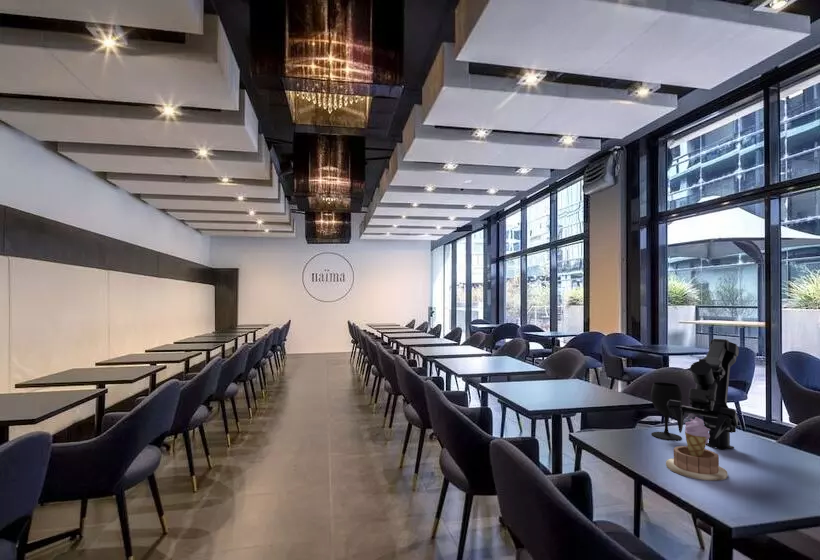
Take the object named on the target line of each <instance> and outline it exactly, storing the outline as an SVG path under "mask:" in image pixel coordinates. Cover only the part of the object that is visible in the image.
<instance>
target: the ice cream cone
mask: <svg viewBox="0 0 820 560" xmlns="http://www.w3.org/2000/svg"><path fill="white" fill-rule="evenodd" d="M684 422H685V428H684V435H685V440H686V445H687V446H688V450H689V454H690V456H695V457H702V455H703V452H704V449H706V448H705V447H706V446H707V445H706V444H707V443H709V438H710V434H709V430H710V429H709V428H706V427H705V425H704V420H703V418H699V417H698V416H695V417H694V419H693V418H690V421H684Z"/></svg>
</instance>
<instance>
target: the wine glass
mask: <svg viewBox="0 0 820 560" xmlns="http://www.w3.org/2000/svg"><path fill="white" fill-rule="evenodd" d="M681 390H682V389H681V387H680V385H679V384H677V383H671V382H665V381H664V382H662V381H661V382H660V381H659V382H658V381H656V382H653V383H652V386H651V391H650V399H651V402H652V405H653V407H654V408H655V409H656V410H657V411H658V412H659V413H661V414H662V415H663V416H664V417H663V418H664V431H652V432H651V433H650V434H651V436H652V437H653V438H656V439H659V440H663V441H669V440H676V441H675V442H679V441H682V439H683V437H682V436H681V435H678V434H677V433H673V432H669V426H668V425H669V417H670V416H671V415H670V413H669V411H668V408H667V402H668V401H669V400H676V401H683V397H682V396H683V395H682V391H681ZM678 440H679V441H678Z"/></svg>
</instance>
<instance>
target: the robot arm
mask: <svg viewBox="0 0 820 560" xmlns="http://www.w3.org/2000/svg"><path fill="white" fill-rule="evenodd" d="M739 353H740V350H739V345H738V344H736V343H735V342H731V341H729V340H728V339H725V338H723V339H721V338H711V340H710V342H709V349H708V352H707V355H706V356H705V357H704V358H699V359H698V361H695V362H694V363H692V364H691V365H690V368H689V369H690V372H691V375H692V379H693V381H694V383H695V388H689V393H688V399H689V405H691V406H687V405H684V404H683V402H682V401H683V400H682V401H676V400H669V401H668V402H667V408H668V411H669V413H670V415H669V416H672V417H673V419H676V421H677V426H678V427H677V428H678V431H679V433H680V434H681V433H682V431H683V428H684V427H683V426H684V422H685V421H684V420H685V418H684V415H685V413H686V414H693V415H699V416H702V420H703V421H704V425H705V427H706V428H709V429H710V430H709V431H708V433H709V434H710V438H709V439H708V443H707V444H706V445H705V446H708V447H712V448H716V449H717V450H718V449H719V450H722V451H725V450H730V449H731V450H732V449H735V446H733V445H731V443H730V442H731V441H730V440H731V437H730V436H731V435H730V433H731V434H733V433H736V431H737V430H736V429H737V427H738V426H739V425H738V424H739V418H738V414H737V410H736V409H734V408H729V406H728V405H727V404H728V395H729V385H730V373H731V372H730V371H731V367H732V366H733V365H734V364H735V363H736V361H737V357H739Z"/></svg>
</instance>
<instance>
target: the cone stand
mask: <svg viewBox="0 0 820 560" xmlns="http://www.w3.org/2000/svg"><path fill="white" fill-rule="evenodd" d="M719 458H720V457H719V454H718V453H716V452H715V451H712V450H709V449H706V448H705V449H704V452H703V455H702V457H695V456H690V454H689V450H688V446H686V445H679V446H675V447H674V448H673V458H669V459H667V460H666V461H665V466H667V467H666V468H667V469H668V470H669V469H670V471H671V472H673V473H675V474H678V475H681V476H683V477H686V478H691V479H695V480H702V481H711V482H716V481H717V482H718V481H724V480H726V479H728V476H729V475H728V474H729V473H728V471H727V470H726V469H725V468H723V467H722V466H720V465H719V464H720V463H719V461H720V459H719Z"/></svg>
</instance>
